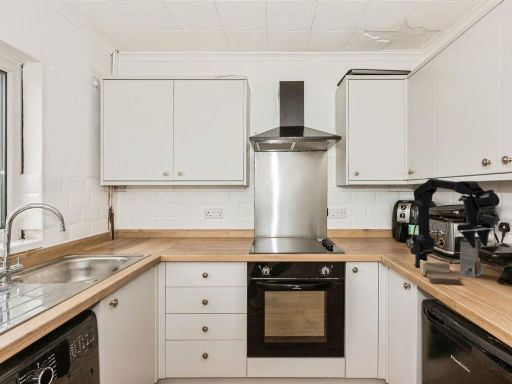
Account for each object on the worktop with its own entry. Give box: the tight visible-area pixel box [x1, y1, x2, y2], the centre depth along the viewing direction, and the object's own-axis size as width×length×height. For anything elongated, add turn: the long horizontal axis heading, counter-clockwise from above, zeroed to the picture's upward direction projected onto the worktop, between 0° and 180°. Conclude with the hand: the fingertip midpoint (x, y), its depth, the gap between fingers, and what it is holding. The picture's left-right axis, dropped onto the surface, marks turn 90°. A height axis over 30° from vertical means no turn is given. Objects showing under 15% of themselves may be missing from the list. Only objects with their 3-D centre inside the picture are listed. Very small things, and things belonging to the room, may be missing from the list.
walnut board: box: [425, 270, 461, 286], centre depth 149 cm, size 16×11×2 cm
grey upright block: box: [459, 238, 484, 279], centre depth 155 cm, size 9×6×16 cm
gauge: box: [419, 260, 450, 277], centre depth 155 cm, size 7×11×6 cm, turn 72°
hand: (479, 247), depth 142 cm, fingers open, 9 cm apart
